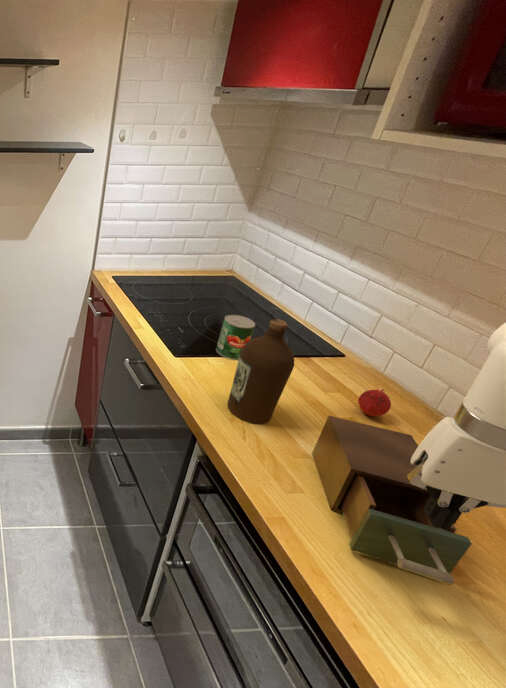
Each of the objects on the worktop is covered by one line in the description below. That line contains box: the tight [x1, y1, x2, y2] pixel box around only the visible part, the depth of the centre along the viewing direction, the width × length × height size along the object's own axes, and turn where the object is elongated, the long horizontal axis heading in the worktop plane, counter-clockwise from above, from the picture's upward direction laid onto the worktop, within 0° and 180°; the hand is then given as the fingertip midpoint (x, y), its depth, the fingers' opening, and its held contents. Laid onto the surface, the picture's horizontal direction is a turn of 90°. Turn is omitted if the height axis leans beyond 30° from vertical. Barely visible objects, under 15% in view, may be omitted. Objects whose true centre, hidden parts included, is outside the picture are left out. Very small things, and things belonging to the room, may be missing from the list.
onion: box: [357, 387, 392, 417], centre depth 107 cm, size 6×6×8 cm
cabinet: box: [311, 415, 429, 514], centre depth 86 cm, size 16×14×11 cm
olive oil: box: [227, 318, 295, 425], centre depth 104 cm, size 11×11×25 cm
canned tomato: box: [215, 314, 256, 361], centre depth 131 cm, size 8×8×11 cm
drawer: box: [340, 473, 472, 585], centre depth 75 cm, size 20×12×9 cm, turn 156°
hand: (435, 521), depth 67 cm, fingers closed
